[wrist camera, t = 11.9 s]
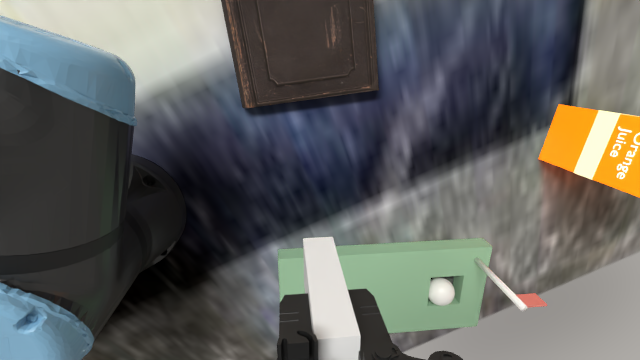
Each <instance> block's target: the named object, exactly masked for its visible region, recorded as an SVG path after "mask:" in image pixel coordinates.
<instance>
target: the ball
mask: <svg viewBox="0 0 640 360" xmlns="http://www.w3.org/2000/svg"><path fill="white" fill-rule="evenodd" d="M454 296H455V290H454V287H453V285H452V284H451V283H450V281H448V280H447V279H445V278H441V277H437V278H433V279H432V280H430V288H429V296H428V298H429V300H430V301H431V302H432V303H434V304H436V305H439V306H445V305H448V304H450V303H451V302H452V301H453V299H454Z"/></svg>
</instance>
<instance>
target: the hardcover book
mask: <svg viewBox="0 0 640 360" xmlns="http://www.w3.org/2000/svg"><path fill="white" fill-rule="evenodd" d="M221 2H222V7H223V12H224V17H225V22H226V27H227V32H228V37H229V42H230V47H231V52H232V57H233V62H234V67H235V72H236V77H237V82H238V87H239V92H240V97H241V102H242V107H243V108H252V107H259V106H267V105H274V104H281V103H288V102H296V101H303V100H310V99H317V98H324V97H332V96H339V95H346V94H353V93H361V92H368V91H375V90H379V87H378V71H377V54H376V38H375V22H374V5H373V0H221Z"/></svg>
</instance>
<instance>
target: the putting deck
mask: <svg viewBox="0 0 640 360" xmlns="http://www.w3.org/2000/svg"><path fill="white" fill-rule="evenodd" d="M335 247H336V251H337V254H338V258H339V261H340V265H341V268H342V272H343V275H344V279H345V282H346V286H347V289H348V290H352V289H367V290H368V291H369V292H370V293H371V294H372V295H374V297H375V300H376V302H377V305H378V308H379V310H380V314H381V315H382V318H383V320H384V323H385V326H386V328H387V331H388V333H399V332H411V331H423V330H435V329H447V328H460V327H472V326H477V323H478V318H479V313H480V308H481V303H482V298H483V292H484V287H485V282H486V277H487V275H488V276H489V277H490V278H491V280H492V281H493V282H494V283H495V284H496V285H497V286H498V287H499V288H500V289H501V290H502V291H503V292H504V293H505V294H506V295H507V296H508V297H509V298H510V299H511V300H512V301H513V303H514V304H515V305H516V306H517V307H518V308H519V309H520V310H521V311H525V310H526V309H527V308H528V307H540V306H547V304H546V303H545V302H544V301H543V300H542V299H541V298H540V297H538V296H537V295H536V294H535V293H534V294H520V295H515V294H514V293H513V292H512V291H511V290H510V289H509V288H508V287H507V286H506V285H505V284H504V283H503V282H502V281H501V280H500V279H499V278H498V277H497V276H496V275H495V274H494V273H493V272H492V271H491V270H490V269H489V268H488V267H489V261H490V256H491V251H492V246H491V245H490V244H489V243H487V242H486V241H485V240H484V239H483V238H474V239H456V240H438V241H420V242H402V243H384V244H366V245H348V246H335ZM278 270H279V290H280V302H281V301H282V299H283V297H284V295H291V294H305V288H304V255H303V248H294V249H278ZM449 276H454V280H453V287H454V290H455V296H454V299H453V301H452V302H451V303H450V304H448V305H445V306H439V305H436V304H434V303H432V302H431V301H430V300H429V298H428V296H429V288H430V280H431V278H434V277H449Z"/></svg>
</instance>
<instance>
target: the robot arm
mask: <svg viewBox="0 0 640 360" xmlns="http://www.w3.org/2000/svg"><path fill="white" fill-rule="evenodd" d="M134 109H135V77H134V74H133V72H132V70H131V69H130V67H129V66H128V65H127V64H126V63H125V62H124V61H123V60H122V59H120V58H119V57H117V56H116V55H114V54H111V53H109V52H107V51H104V50H101V49H99V48H96V47H93V46H91V45H88V44H85V43H82V42H79V41H76V40H73V39H70V38H67V37H65V36H62V35H59V34H56V33H53V32H50V31H47V30H43V29H40V28H37V27H34V26H31V25H28V24H25V23H22V22H19V21H16V20H13V19H10V18H7V17H4V16H1V15H0V360H81V359H82V358H83V357H84V356H85V355H87V354H88V352H89V351H90V350H91V349H92V345H93V342H94V341H95V339H96V338H97V336H98V335H99V333H100V332H101V330H102V329H103V327H104V326H105V324H106V323H107V321H108V320H109V318H110V317H111V315H112V314H113V312H114V311H115V309H116V308H117V306H118V305H119V303H120V302H121V300H122V298H123V297H124V295H125V294H126V292H127V291H128V289H129V288H130V286H131V285H132V283H133V282H134V280H135V279H136V277H137V276H138V274H139V273H140V272H142V271H144V270H145V269H147V268H149V267H150V266H152V265H154V264H156V263H157V262H159V261H160V260H162V259H163V258H164V257H165V256H167V255H168V254H169V253H170V252H171V250H172V249H173V248H174V247H175V245H176V244H177V242H178V240H179V238H180V237H181V235H182V233H183V231H184V228H185V224H186V216H187V215H186V205H185V201H184V198H183V195H182V193H181V191H180V189H179V187H178V186H177V184H176V183H175V181H174V180H173V179H172V178H171V177H170V176H169V175H168V174H167V173H166V172H165V171H164V170H163V169H162V168H160V167H159V166H157V165H156V164H154V163H153V162H151V161H149V160H147V159H144V158H142V157H139V156H136V155H133V154H131V153H132V143H133V132H134V126H137V120H136V118H135V117H134ZM303 255H304V288H305V294H291V295H284V297H283V299H282V301H281V302H280V324H279V339H278V343H277V353H278V358H277V360H424V359H419V358H414V357H411V356H407V355H406V354H403V353H402V352H401V351H400V349H399V348H398V347H397V346H396V345H395V344H393V343H392V341H391V338H390V336H389V333H388V331H387V328H386V326H385V323H384V320H383V318H382V315H381V314H380V310H379V308H378V305H377V302H376V300H375V297H374V295H372V294H371V293H370V292H369V291H368V290H367V289H352V290H348V289H347V286H346V282H345V279H344V275H343V272H342V268H341V265H340V261H339V258H338V254H337V251H336V247H335V244H334V240H333V237H320V238H303ZM428 360H463V359H462V358H461V357H459V356H458V355H456V354H454V353H451V352H447V351H437V352H434V353H433V354H431V355H430V357H429V359H428Z"/></svg>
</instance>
